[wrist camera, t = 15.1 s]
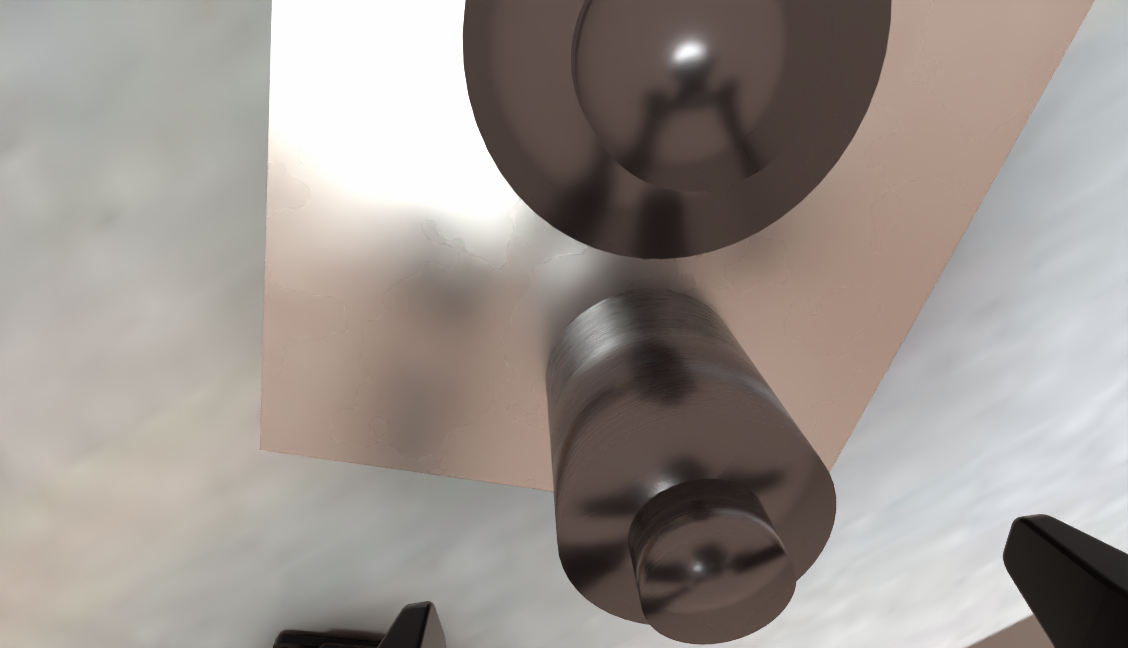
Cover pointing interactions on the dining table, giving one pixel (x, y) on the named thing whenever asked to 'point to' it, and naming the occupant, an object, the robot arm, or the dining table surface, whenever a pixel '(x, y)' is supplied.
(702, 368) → the weight
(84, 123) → the dining table surface
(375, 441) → the scale pan
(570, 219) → the weight
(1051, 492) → the dining table surface
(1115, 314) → the dining table surface
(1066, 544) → the robot arm
